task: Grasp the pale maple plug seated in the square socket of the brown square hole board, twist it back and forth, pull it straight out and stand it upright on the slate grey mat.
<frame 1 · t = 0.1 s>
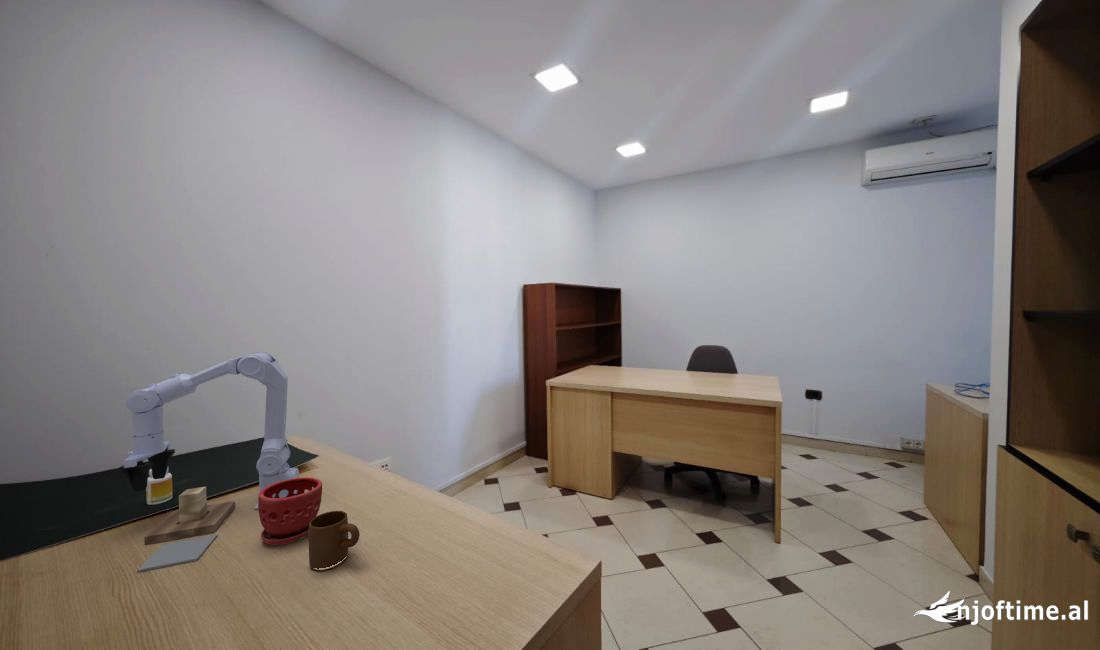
hand: (150, 484, 100), 10 cm above the table, tool pointing down, fingers open, 7 cm apart
brown square hole board: (193, 524, 98), on the table
maple plug: (193, 525, 98), resting in brown square hole board
plant pot: (292, 534, 94), on the table
supplement bottle: (159, 501, 112), on the table
mug: (337, 563, 83), on the table
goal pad: (180, 553, 86), on the table
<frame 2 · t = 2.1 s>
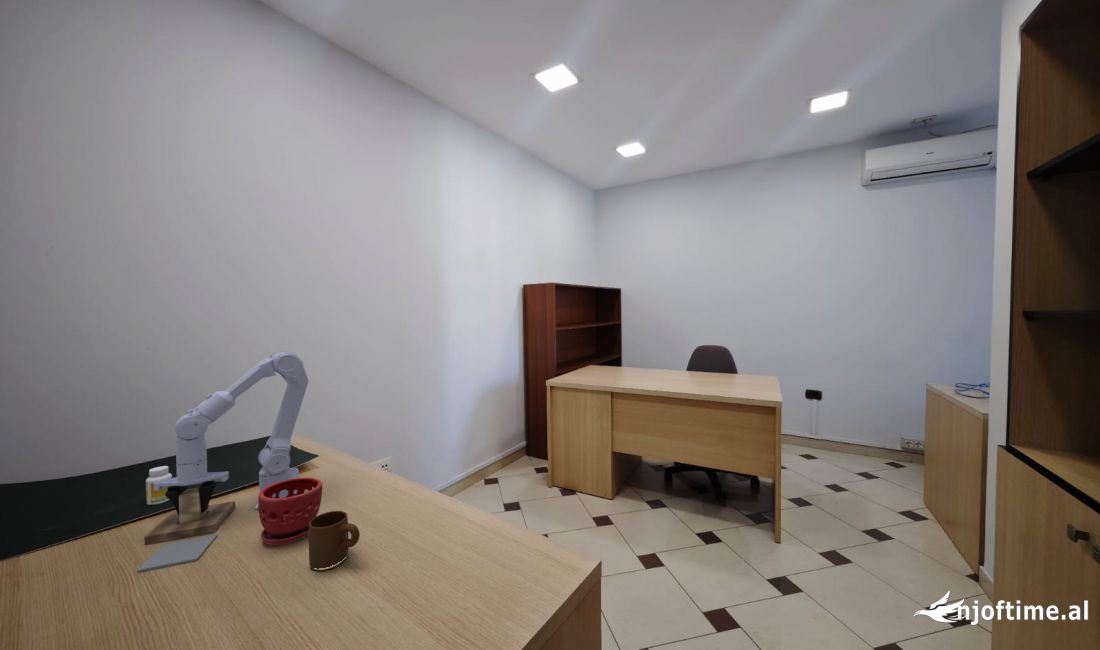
hand: (193, 512, 98), 3 cm above the table, tool pointing down, fingers closed on maple plug, 4 cm apart
maple plug: (193, 525, 98), resting in brown square hole board, touching gripper
everything else where it was.
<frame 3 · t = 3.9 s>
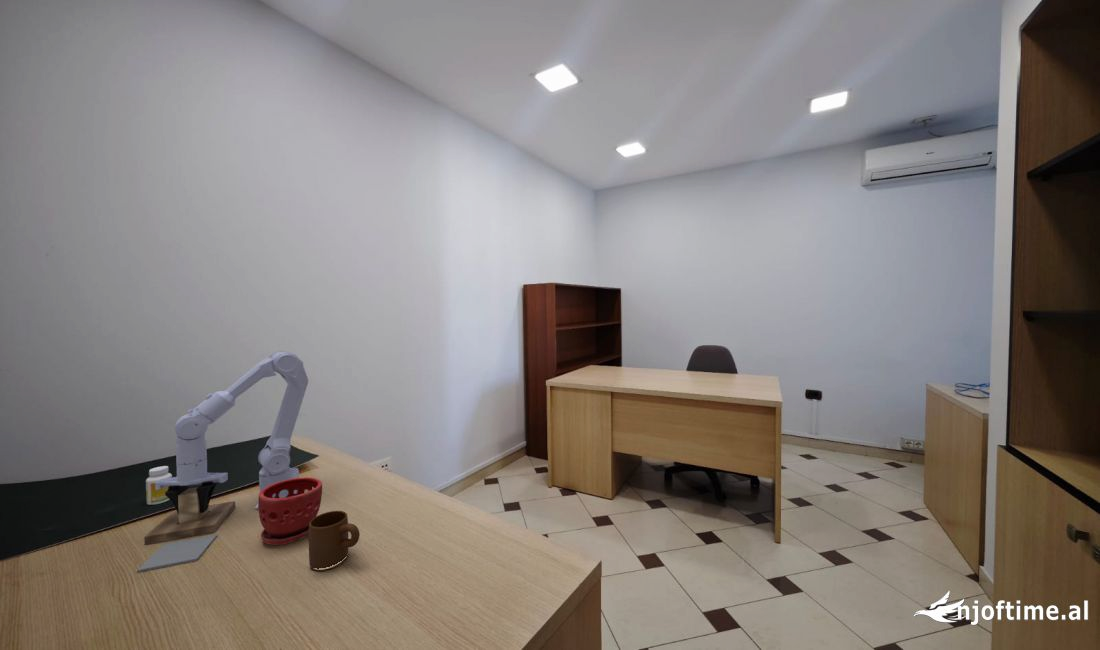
hand: (193, 512, 98), 3 cm above the table, tool pointing down, fingers closed on maple plug, 4 cm apart
maple plug: (193, 524, 98), resting in brown square hole board, touching gripper
everything else where it was.
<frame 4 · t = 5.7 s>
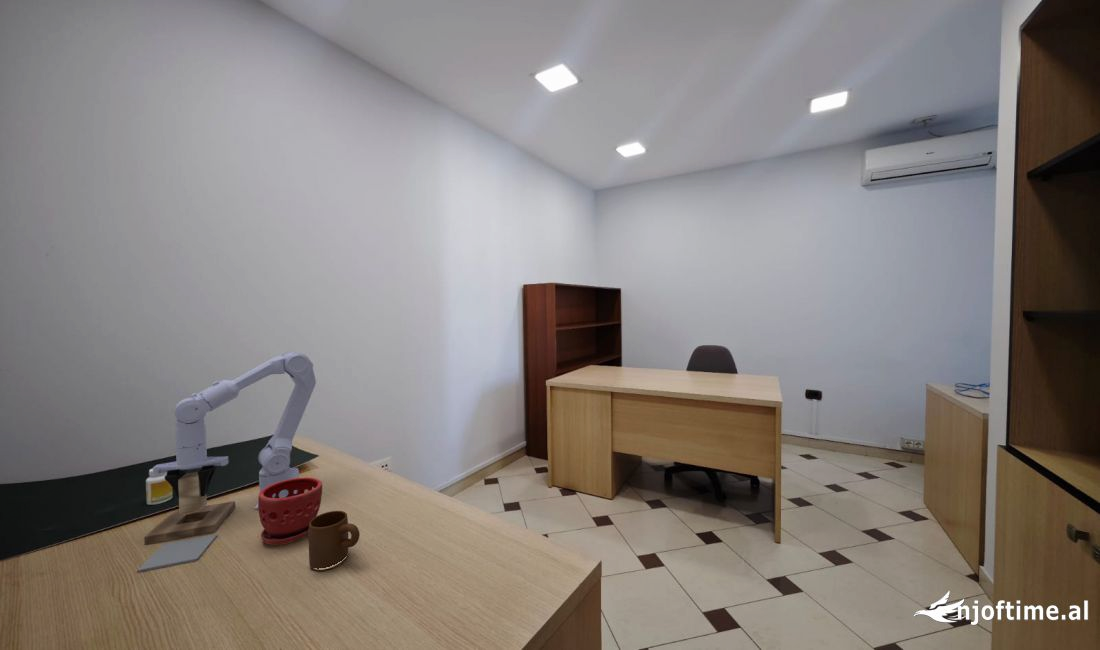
hand: (193, 496, 98), 8 cm above the table, tool pointing down, fingers closed on maple plug, 4 cm apart
maple plug: (193, 509, 98), point 4 cm above the table, touching gripper
everything else where it was.
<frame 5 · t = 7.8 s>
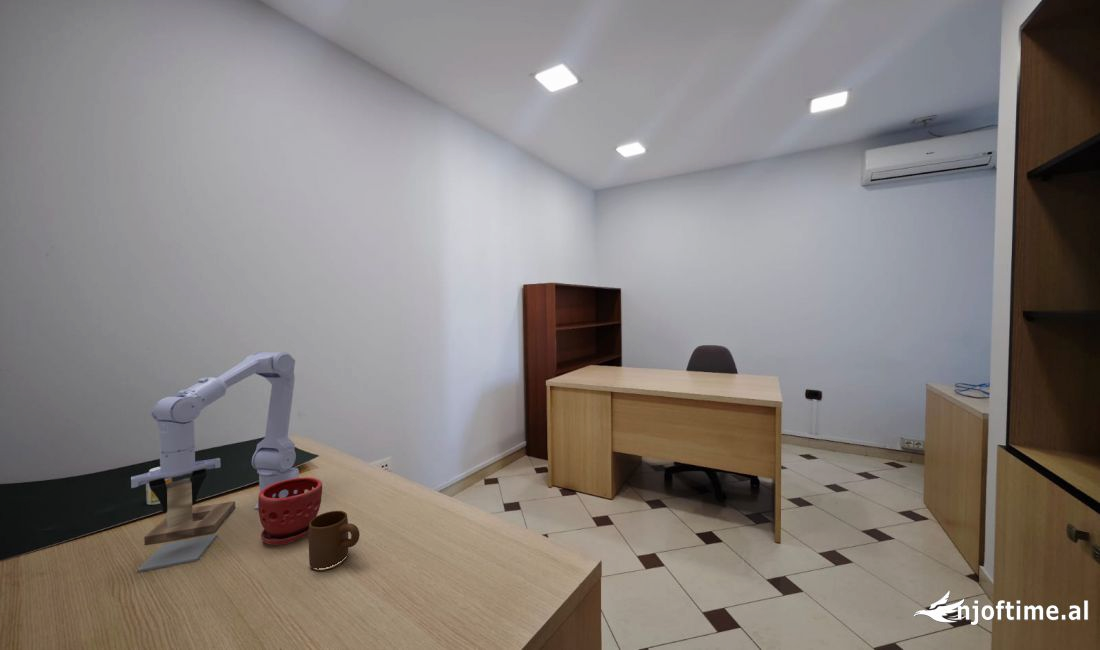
hand: (179, 507, 87), 10 cm above the table, tool pointing down, fingers closed on maple plug, 4 cm apart
maple plug: (179, 521, 87), point 7 cm above the table, touching gripper
everything else where it was.
when the fingers open (5 cm above the table, at t = 9.4 s): maple plug stays where it is, resting on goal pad.
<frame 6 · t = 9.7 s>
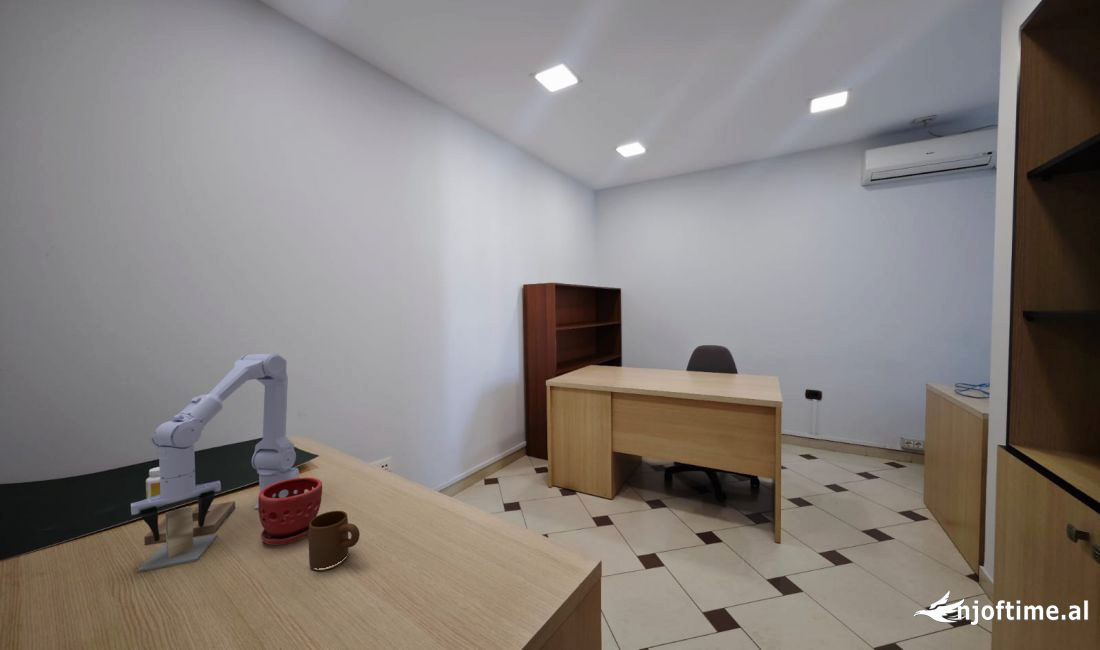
hand: (179, 532, 86), 5 cm above the table, tool pointing down, fingers open, 7 cm apart
maple plug: (180, 550, 87), resting on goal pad
everything else where it was.
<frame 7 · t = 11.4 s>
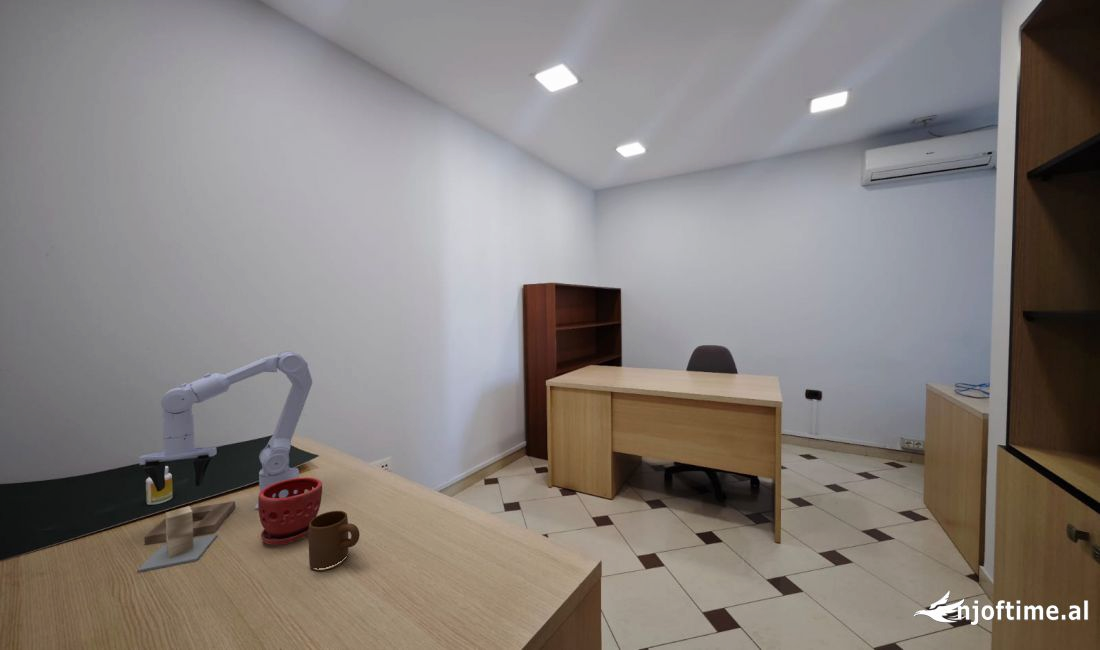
hand: (180, 487, 97), 10 cm above the table, tool pointing down, fingers open, 7 cm apart
nothing on the table moved.
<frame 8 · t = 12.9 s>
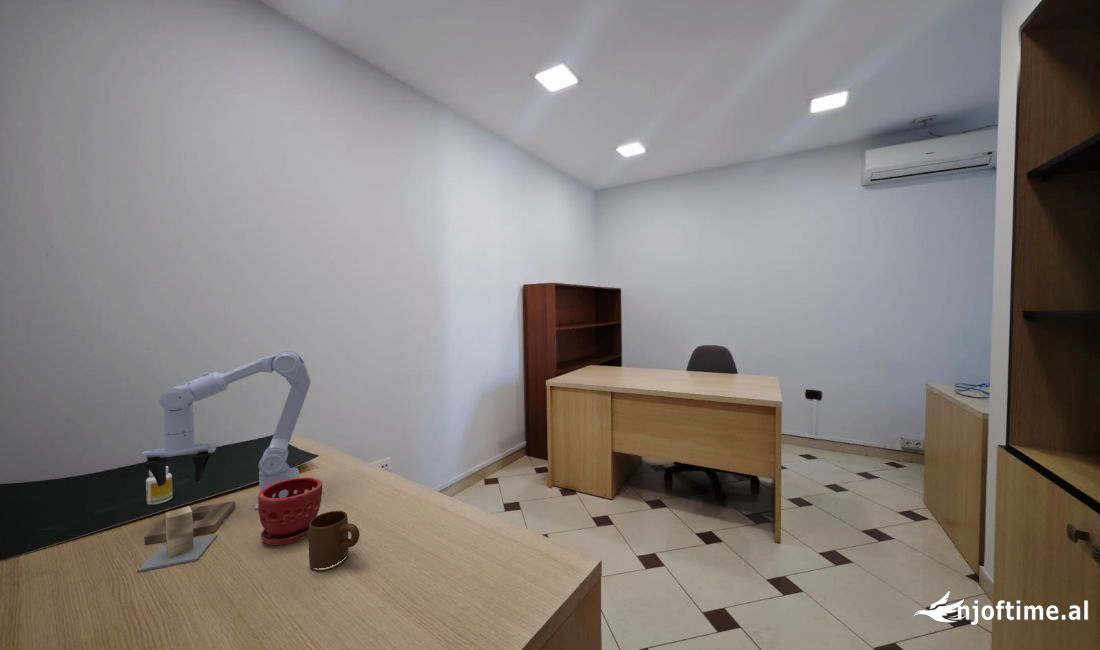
hand: (180, 482, 100), 10 cm above the table, tool pointing down, fingers open, 7 cm apart
nothing on the table moved.
at the end: maple plug inside the target area on the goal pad (0.2 cm from its centre), point 0.5 cm above the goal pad's base; maple plug tilted 0°; the gripper is holding nothing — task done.
